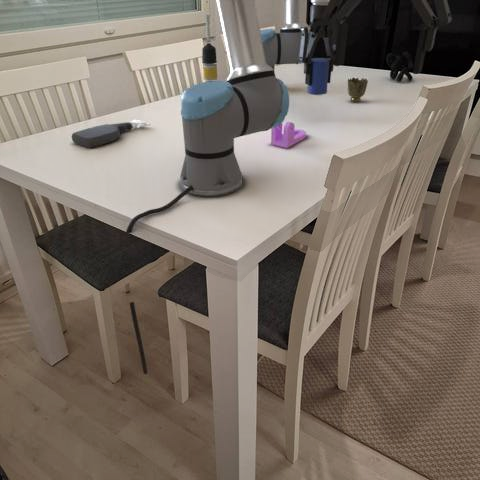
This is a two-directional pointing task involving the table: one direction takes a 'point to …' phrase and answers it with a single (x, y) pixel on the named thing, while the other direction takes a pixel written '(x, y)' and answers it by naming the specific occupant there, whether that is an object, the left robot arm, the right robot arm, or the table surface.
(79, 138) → the dark grey flat piece
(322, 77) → the can
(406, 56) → the squiggle
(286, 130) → the bracket
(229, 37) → the left robot arm
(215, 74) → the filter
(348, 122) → the table surface
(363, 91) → the cup
